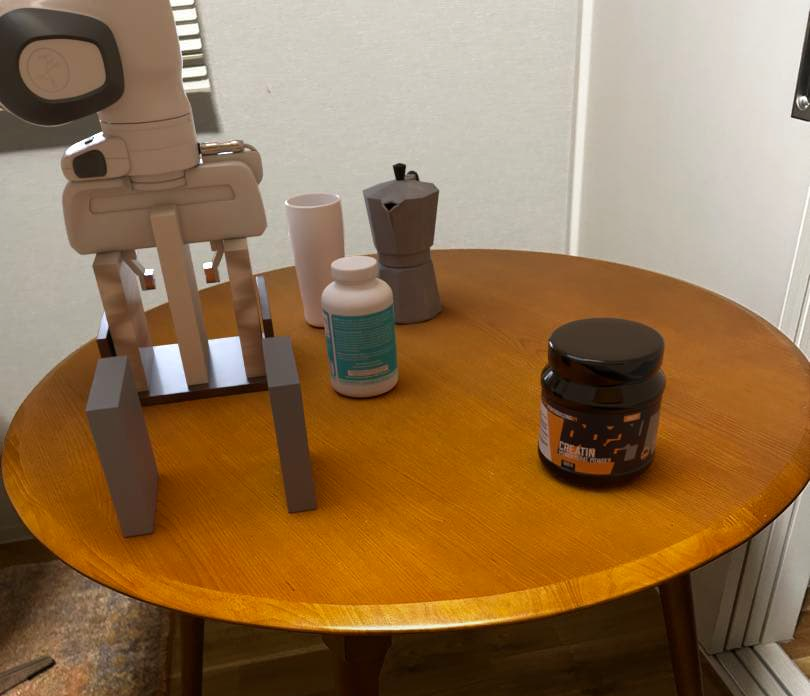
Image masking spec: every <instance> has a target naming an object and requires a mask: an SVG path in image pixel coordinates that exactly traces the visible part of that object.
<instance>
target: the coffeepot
mask: <svg viewBox="0 0 810 696" xmlns="http://www.w3.org/2000/svg"><path fill="white" fill-rule="evenodd" d="M392 170H393V173H394V174H393V175H394V178H395V179H391V180H386V181H383V182H379V183H377V184H375V185H372V186H370V187H367V188H365V189H362V194H363V195H362V196H363V199H364V204H365V209H366V213H367V214H366V215H367V219H368V223H369V228H370V233H371V238H372V243H373V246H374V248H375V250H376V254H377V255H376V256H377V258H376V259H377V267H378V273H377V276H376V278H378V279H381V280H383V281H384V282H386V283H387V284H388V285H389V286H390V288H391V290H392V293H393V304H394V320H395V325H396V324H397V325H408V324H409V325H410V324H417V323H422V322H426V321H429V320H431V319H433V318H436V316H437V314H438V315H439V314H440V312H442V310H443V307H442V303H441V297H440V293H439V292H440V291H439V287H438V282H437V277H436V272H435V266H434V263H433V259H432V258H431V247H433V246H434V241H435V233H436V224H437V217H438V216H437V215H438V206H439V205H438V204H439V196H440V189H439V188H438V187H437V186H436V185H435V184H434V183H433V182H428V181H427V182H426V181H422V180H420V176H419V174H418V172H417V171H415V170H409V171H406V170H407V164H405V163H402V162H398V163H395V164H393V165H392ZM406 172H407V173H406Z"/></svg>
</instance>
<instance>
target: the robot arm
mask: <svg viewBox="0 0 810 696" xmlns="http://www.w3.org/2000/svg"><path fill="white" fill-rule="evenodd" d="M178 33H179V32H178V29H177V25H176V20H175V16H174V11H173V9H172V4H171V0H0V110H3V111H5V112H7V113H10V114H11V115H13V116H15V117H16V118H18V119H19V120H22V121H23V122H26V123H29V124H32V125H34V126H39V127H45V128H51V127H61V126H63V125H66V124H70V123H72V122H74V121H77V120H80V119H83V118H86V117H89V116H91V115H94V114H97V116H98V120H99V123H100V127H101V128H100V129H101V132H99V133H96V134H94V135H92V136H89V137H87V138H85V139H83V140H81V141H79V142H76V143H75V144H73V145H70V147H69V148H67V150H65V152H64V153H63V154H62V156H61V159H60V168H61V172H62V174H63V177H64V178H65V179H66V180H67V182H66V184H65V186H64V189H63V190H62V193H61V194H62V195H61V204H62V205H61V206H62V215H63V221H64V226H65V227H64V228H65V231H66V235H67V240H68V243H69V246H70V247H71V249H72V250H74V251H75V252H76V253H77V254H79V255H80V256H87V255H88V256H89V255H96V254H97V253H106V252H115V251H122V255H123V260H124V262H125V263H126V264H127V265H128V266H129V267H130V268H131V269H132V271H133V272H134V273H135V275H136V277H138V280H139V283H140V287H141V291H142V292H147V291H153V290H157V286H158V285H157V279H156V278H155V271H154V268H151V269H146V268H145V267H144V266H143V264H142V263H141V262H140V261H139V260H138V255H139V250H142V249H152V248H157V247H156V242H155V238H154V233H153V229H152V224H151V220H150V215H151V210H152V207H153V206H162V205H172V204H176V208H177V213H178V218H179V223H180V228H181V233H182V238H183V243H184V244H189V245H190V244H198V243H208V242H209V245H210V251H211V252H214V253H213V255H212V258H211V261H210V262H205V263H203V271H204V272H203V273H204V275H205V282H206V284H208V285H209V284H217V283H221V276H220V275H221V274H220V271H219V266H220V264H221V262H222V258H223V256H224V255H225V253H224V240H227V239H237V238H247V239H248V238H256V237H261V236H263V234H264V233H265V231H266V229H268V222H267V215H266V209H265V205H264V202H263V196H262V193H261V190H260V187H259V185H260V184H261V182H262V181H263V177H264V167H263V163H262V156H261V153H260V152H259V150H258V149H257V148H256V147H254V145H252V144H249V143H245V142H244V140H242V139H232V140H230V141H223V142H222V141H209V142H199V141H198V136H197V131H196V125H195V120H194V114H193V109H192V105H191V102H190V100H189V98H188V96H187V93H186V90H185V87H184V81H183V65H184V59H183V54H182V53H183V52H182V48H181V43H180V38H179V34H178ZM246 149H248V150H246Z"/></svg>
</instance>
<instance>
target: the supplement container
mask: <svg viewBox="0 0 810 696" xmlns="http://www.w3.org/2000/svg"><path fill="white" fill-rule="evenodd" d="M547 341H548V342H547V343H548V344H547V363H546V364H545V365H544V366H543V368H542V370H541V373H540V383H539V384H540V387H541V390H540V411H539V430H538V431H539V433H538V441H537V455H538V458H539V461H540V463H541V464H542V466H543V467H544V469H546V470H547V472H549V473H550V474H551V475H553V476H555V477H556V478H558V479H559V480H562V481H564V482H567V483H569V484H573V485H576V486H581V487H588V488H612V486H613V487H618V486H622V485H625V484H628V483H632V482H633V481H636V480H638V479H640V478H642V477H643V476H644V475H645V474H646V473H647V472H648V471H649V470H650V469H651V467H652V465H653V464H654V461H655V457H656V445H657V438H658V431H659V430H658V429H659V423H660V418H661V409H662V403H663V397H664V396H663V395H664V393H665V391H666V386H667V378H666V377H667V376H666V374H665V372H664V370H663V369H662V366H663V362H664V355H665V348H666V342H665V339H664V337H663V335H662V334H661V333H660V332H659V331H658V330H656V329H655V328H653V327H652V326H649V325H647V324H645V323H643V322H639V321H635V320H631V319H626V318H618V317H587V318H581V319H577V320H572V321H569V322H565V323H564V324H561V325H560V326H558V327H556V328H555V329H554V330H553V331H552V332H551V333H550V335H549V337H548V340H547Z"/></svg>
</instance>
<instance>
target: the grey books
mask: <svg viewBox="0 0 810 696" xmlns="http://www.w3.org/2000/svg"><path fill="white" fill-rule="evenodd" d="M262 346H263V353H264V360H265V367H266V375H267V382H268V389H269V390H268V395H269V401H270V407H271V413H272V420H273V425H274V432H275V438H276V444H277V450H278V451H277V452H278V456H279V463H280V469H281V476H282V482H283V489H284V493H285V501H286V507H287V512H288V514H292V513H297V512H299V513H300V512H304V511H312V510H317V509H318V505H317V497H316V491H315V485H314V477H313V469H312V468H313V467H312V462H311V455H310V454H311V453H310V448H309V439H308V431H307V425H306V417H305V409H304V402H303V395H302V387H301V382H300V377H299V372H298V368H297V362H296V357H295V352H294V349H293V343H292V339H291V335H289V334H288V335H280V336H274V337H272V338H264V339H262ZM142 408H143V407H142V406H141V404H140V400H139V396H138V393H137V389H136V385H135V381H134V377H133V373H132V370H131V366H130V362H129V358H128V356H127V355H125V356H117V357H109V358H101V357H100V358H98V359H97V362H96V367H95V371H94V374H93V380H92V383H91V387H90V390H89V394H88V399H87V402H86V406H85V409H84V412H85V416H86V419H87V422H88V426H89V429H90V433H91V435H92V438H93V442H94V445H95V449H96V451H97V456H98V457H99V461H100V464H101V465H100V466H101V469H102V471H103V475H104V478H105V481H106V485H107V487H108V491H109V494H110V497H111V500H112V504H113V506H114V510H115V513H116V514H115V515H116V516H117V520H118V523H119V526H120V529H121V532H122V536H123V538H129V537H135V536H142V535H148V534H149V535H150V534H153V533H154V530H155V519H156V510H157V509H156V508H157V497H158V496H157V495H158V485H159V469H158V465H157V462H156V458H155V453H154V450H153V446H152V443H151V439H150V435H149V431H148V428H147V423H146V420H145V415H144V411H143V409H142Z"/></svg>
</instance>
